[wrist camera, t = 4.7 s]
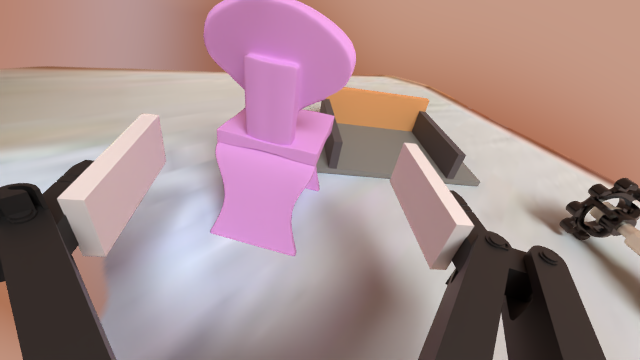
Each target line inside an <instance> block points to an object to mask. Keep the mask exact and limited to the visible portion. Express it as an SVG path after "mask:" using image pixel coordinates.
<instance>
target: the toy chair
mask: <svg viewBox="0 0 640 360" xmlns="http://www.w3.org/2000/svg"><path fill="white" fill-rule="evenodd" d="M204 42H205V46H206V48H207V51H208V53H209V54H210V56H211V57H212V58H213V60H214V61H215V62H216V63H217V64H218V65H219V66H220V67H221V68H222V69H223V70H225V71H226V72H227V73H228V74H229V75H230V76H231V77H232V78H233V79H234V80H235V81H236V82H237V83H238V84H239V85H240V86H241V87H242V88H243V89H244V90H245V105H246V107H245V108H244V109H243V110H242V111H241V112H239V113H238V114H237V115H236V116H234V117H233V118H231V119H230V120H228V121H227V122H225V123H224V124H223V125H222V126H220V127H219V128H218V129H217V141H218V143H217V145H216V159H217V162H218V165H219V169H220V172H221V175H222V179H223V183H224V192H225V198H224V203H223V207H222V209H221V212H220V214H219V216H218V218H217V220H216V222H215V224H214V225H213V227H212V229H211V231H210V232H211V233H212V234H216V235H219V236H223V237H226V238H230V239H234V240H237V241H241V242H244V243H248V244H251V245H255V246H258V247H262V248H266V249H269V250H273V251H276V252H280V253H283V254H287V255H291V256H295V255H296V248H295V243H294V239H293V233H292V224H291V218H292V210H293V207H294V204H295V202H296V200H297V199H298V197H299V195H300V194H301V193H302V191H303V190H304V189H305V188H307V189H311V190H315V191H319V182H318V177H317V167H316V164H317V162H318V159H319V157H320V154H321V152H322V149H323V146H324V144H325V142H326V140H327V138H328V137H329V135H330V134H331V132H332V126H333V121H334V117H335V116H332V115H328V114H324V113H320V112H314V111H308V110H302V109H303V108H304V107H306V106H309V105H311V104H314V103H316V102H319V101H323V100H325V99H326V98H327V97H328V96H330V95H332V94H334V93H336V92H338V91H339V90H341V89H342V88H343V87H344V86H345V85H346V84H347V82H348V80H349V78H350V77H351V75H352V73H353V70H354V66H355V63H356V53H355V50H354V47H353V44H352V42H351V41H350V39H349V38H348V37H347V35H346V34H345V33H344V32H343V31H342V30H341V29H340V28H339V27H338V26H337V25H336V24H335V23H333V22H332V21H331V20H329V19H328V18H327V17H325V16H324V15H323V14H321V13H319V12H318V11H316V10H315V9H313V8H311V7H309V6H307V5H305V4H303V3H301V2H299V1H296V0H224V1H222V2H221V3H219V4H217V5H216V6H215V7H214V8H213V9H212V10H211V11H210V12H209V14H208V16H207V18H206V21H205V25H204Z"/></svg>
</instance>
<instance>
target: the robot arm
mask: <svg viewBox="0 0 640 360" xmlns="http://www.w3.org/2000/svg"><path fill="white" fill-rule="evenodd" d="M165 163H166V157H165V151H164V145H163V138H162V132H161V126H160V120H159V115H153V114H144V113H142V114H141V115H140V116H139V117H138V118H137V119H136V120H135V121H134V122H133V123H132V124H131V125H130V126H129V127H128V128H127V129H126V130H125V131H124V132H123V133H122V134H121V135H120V136H119V137H118V138H117V139H116V140H115V141H114V142H113V143H112V144H111V145H110V146H109V147H108V148H107V149H106V150H105V151H104V152H103V153H102V154H101V155H100V156H99V157H98V158H97V159H96V160H95V161H92V160H84V161H82V162H80V163H78V164H76V165H74V166H72V167H71V168H70V169H69V170H68V171H67V172H66V173H65V174H64V176H62V177H60V178H59V179H58V180H57V182H55V183H54V184H53V185H52V186H51V187H50V188H49V189H47V190H46V191H45V192H44V193H43V194H42V193H41V191H40V189H39V188H38V187H37V186H36V185H33V184H29V183H17V184H11V185H6V186H3V187H0V282H3V281H6V285H7V290H8V294H9V299H10V303H11V307H12V312H13V316H14V321H15V325H16V330H17V334H18V339H19V343H20V348H21V352H22V356H23V360H116V358H115V356H114V353H113V351H112V349H111V346H110V344H109V342H108V339H107V337H106V334H105V332H104V330H103V327H102V325H101V323H100V320H99V318H98V316H97V313H96V311H95V309H94V306H93V304H92V301H91V299H90V297H89V294H88V292H87V289H86V287H85V285H84V282H83V280H82V278H81V275H80V273H79V271H78V268H77V266H76V263H75V261H74V259H73V257H72V255H71V254H72V253H73V251H74V250H75V249H76V247H77V246H79V248H80V251H81V252H82V255H83V256H97V257H106V256H107V254H108V253H109V251H110V249H111V248H112V246H113V245H114V243H115V242H116V240H117V238H118V237H119V235H120V234H121V232H122V231H123V229H124V227H125V226H126V224H127V223H128V221H129V219H130V218H131V216H132V215H133V213H134V212H135V210H136V208H137V207H138V205H139V204H140V202H141V200H142V199H143V197H144V196H145V194H146V193H147V191H148V189H149V188H150V186H151V185H152V183H153V181H154V180H155V178H156V177H157V175H158V174H159V172H160V170H161V169H162V167H163V166H164V164H165ZM390 183H391V185H392V187H393V189H394V192H395V194H396V196H397V198H398V200H399V202H400V205H401V207H402V209H403V211H404V213H405V215H406V218H407V220H408V222H409V224H410V226H411V228H412V231H413V233H414V235H415V237H416V239H417V241H418V244H419V246H420V248H421V250H422V252H423V254H424V257H425V259H426V261H427V263H428V265H429V267H430V269H439V270H446V269H447V267H448V266H449V264H450V263H451V261H452V262H453V263H454V265H455V267H456V269H455V270H454V272H453V273H452V275H451V276H450V277H449V279H448V280H447V282H446V283H445V284H447V285H448V286H447V288H446V291H445V293H444V296H443V298H442V301H441V303H440V306H439V308H438V311H437V313H436V316H435V318H434V321H433V323H432V326H431V328H430V331H429V333H428V336H427V338H426V341H425V343H424V346H423V348H422V351H421V353H420V356H419V358H418V360H492V359H493V354H494V348H495V343H496V337H497V332H498V326H499V321H500V315H501V313H502V320H503V327H504V334H505V340H506V347H507V354H508V360H606V358H605V356H604V353H603V351H602V348H601V346H600V344H599V341H598V339H597V336H596V334H595V332H594V329H593V327H592V324H591V322H590V320H589V317H588V315H587V312H586V310H585V308H584V305H583V303H582V301H581V298H580V296H579V293H578V291H577V289H576V286H575V284H574V281H573V279H572V277H571V274H570V272H569V269H568V267H567V265H566V263H565V262H564V260H563V259H562V258H561V257H560V256H559V255H558V254H557V253H555V252H554V251H552V250H550V249H548V248H546V247H542V246H533V247H532V248H531V249H530V250H529V251H528V252H523V251H520V250H517V249H513V248H512V247H511V245H510V244H509V242H508V241H506V240H505V239H504V238H503V237H501V236H500V235H498V234H496V233H494V232H491V231H487V230H486V229H485V227H484V226H483V225H482V223H481V222H480V221H479V219H478V218H477V217H476V215H475V214H474V213H473V212H472V210H471V209H470V207H469V206H468V205H467V203H466V202H465V200H464V199H463V198H462V197H461V196H460V195H458V194H457V193H456V192H455V191H451V190H449V189H448V188H447V186H446V185H445V184H444V182H443V181H442V179H441V178H440V177H439V175H438V174H437V172H436V171H435V169H434V168H433V167H432V165H431V164H430V162H429V161H428V160H427V158H426V157H425V155H424V154H423V153H422V151H421V150H420V148H419V147H418V145H417V144H413V143H404V144H403V146H402V149H401V152H400V155H399V157H398V160H397V163H396V165H395V168H394V171H393V173H392V176H391V179H390Z"/></svg>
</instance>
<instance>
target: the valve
mask: <svg viewBox="0 0 640 360" xmlns="http://www.w3.org/2000/svg"><path fill="white" fill-rule="evenodd" d="M627 190H628V191H627ZM588 193H589V194H590V195H591V196H590V197H589V198H588V199H586V200H585V201H583V202H581V203H580V202H578V201H573V202H570V203H569V204H568V205H567V206H566V210H567V211H568V212H569V213H570V214H572V215H573V216H572V217H571V218H565V219H563V220H562V221H561V222H560V226H561V227H562V228H563V229H564V230H565V231H566V232H567V233H569V234H571V233H573V234H574V235H575V236H576V237H577V238H578V239H579V240H586V239H588V238H589V237H590V235H592V236H594V237H601V238H603V237H608V236H610V235H613V236H618V235H623V236H624V237H625V238H626V239H625V241H624V242H625V244H626V245H627V246H628V247H630V248H631V249H632V250H633V251H634V252H636V253H637V254H638V255H639V256H640V231H639V230H637V229H636V228H635V225H636V223H637V220H638V219H639V217H640V208H639V207H638V206H636V205H635V204H633V203H632V201H634V200H638V201H639V202H640V188H638V185H637V184H636V183H634V182H632V181H631V180H629V179H628V178H622V179H620V180H618V181H616V182H615V184H614V187H613V188H611V189H608V188H606V187H605V186H603V185H602V184H596V185H594V186H592V187H591V188H590V189H589V190H588ZM612 198H619V203H618V205H617V206H616V207H614V206H613V205H611V204H610V203H609V202H603V201H605V200H608V199H612ZM602 202H603V203H602ZM592 208H593V209H592ZM591 209H592V210H591ZM590 210H591V211H590ZM589 211H590V214H591V215H592V216H593V217H594V218H595V219H596V220H595V221H591V222H584V218H585V216H586V214H587V213H588V212H589ZM573 227H574V228H573ZM587 232H588V233H589V234H590V235H588V234H587Z"/></svg>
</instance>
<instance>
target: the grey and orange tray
mask: <svg viewBox="0 0 640 360" xmlns="http://www.w3.org/2000/svg"><path fill="white" fill-rule="evenodd" d="M428 103H429V100H428V99H427V98H420V97H413V96H406V95H398V94H391V93H384V92H376V91H369V90H362V89H355V88H347V87H343V88H342V89H341V90H339V91H338V92H336V93H334V94H332V95H330V96H328V97H327V98H326V99H325V100H323V101H322V103H321V109H320V113H324V114H328V115H332V116H335V117H334V121H333V126H332V132H331V134H330V135H329V137H328V138H327V140H326V142H325V144H324V146H323V149H322V152H321V154H320V157H319V159H318V162H317V164H316V167H317V172H320V173H332V174H343V175H355V176H366V177H378V178H389V179H391V176H392V173H393V171H394V168H395V165H396V163H397V160H398V157H399V155H400V152H401V149H402V146H403V144H404V143H413V144H417V145H418V147H419V148H420V150H421V151H422V153H423V154H424V155H425V157H426V158H427V160H428V161H429V162H430V164H431V165H432V167H433V168H434V169H435V171H436V172H437V174H438V175H439V177H440V178H441V179H442V181H443V182H444V183H447V184H459V185H470V186H478V185H479V183H480V181H479V180H478V179H477V178H476V177H475V175H474V174H473V173H472V172H471V171H470V170H469V169H468V168H467V166H466V165H465V164H464V163H463V160H464V158H465V156H466V155H465V154H464V153H463V152H462V151H461V150H460V149H459V147H458V146H457V145H456V144H455V143H454V142H453V141H452V140H451V139H450V138H449V137H448V136H447V135H446V134H445V133H444V131H443V130H442V129H441V128H440V127H439V126H438V125H437V124H436V123H435V122H434V121H433V120H432V119H431V118H430V116H429V115H428V114H427V113H426V112H425V111H426V108H427V105H428Z"/></svg>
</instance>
